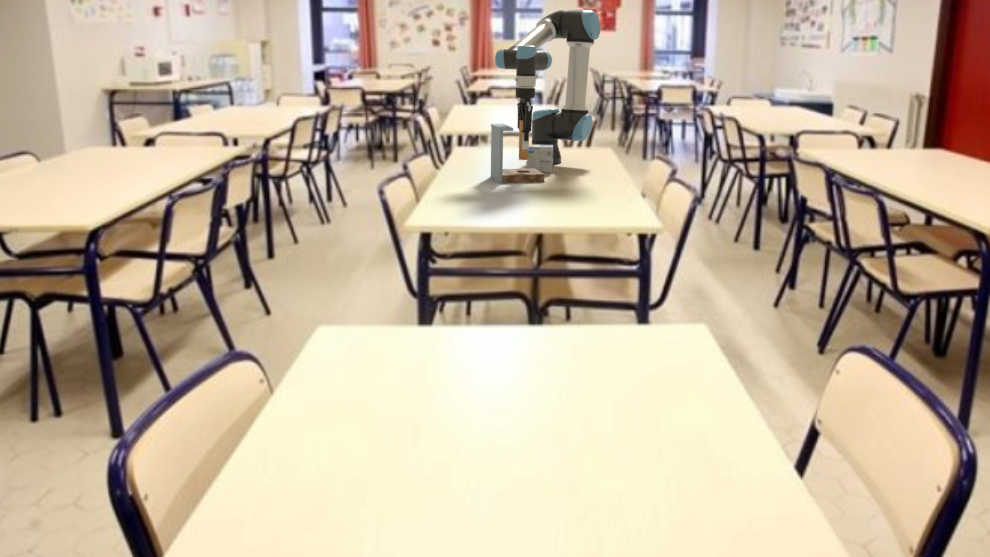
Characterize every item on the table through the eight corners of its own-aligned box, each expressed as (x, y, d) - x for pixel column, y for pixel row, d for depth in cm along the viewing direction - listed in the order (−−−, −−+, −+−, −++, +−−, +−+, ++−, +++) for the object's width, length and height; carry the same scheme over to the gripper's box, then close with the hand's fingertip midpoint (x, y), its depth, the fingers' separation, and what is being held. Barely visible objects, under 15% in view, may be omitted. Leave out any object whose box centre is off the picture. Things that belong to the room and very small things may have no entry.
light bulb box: (552, 170, 351) (553, 144, 348) (552, 173, 344) (553, 146, 341) (527, 169, 352) (528, 143, 349) (526, 172, 345) (527, 146, 342)
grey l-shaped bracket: (502, 176, 335) (503, 123, 329) (512, 183, 321) (513, 128, 315) (490, 176, 334) (491, 123, 328) (499, 183, 320) (500, 128, 314)
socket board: (534, 175, 338) (534, 168, 337) (544, 181, 325) (544, 174, 324) (493, 176, 334) (493, 169, 333) (502, 183, 321) (502, 175, 320)
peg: (517, 158, 328) (518, 120, 324) (526, 158, 329) (527, 120, 325) (520, 160, 325) (521, 121, 321) (528, 159, 326) (530, 121, 321)
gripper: (510, 85, 326) (509, 145, 333) (521, 88, 310) (520, 151, 317) (528, 85, 328) (527, 145, 334) (541, 88, 312) (539, 151, 319)
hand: (523, 148), depth 326 cm, fingers closed on peg, 3 cm apart
